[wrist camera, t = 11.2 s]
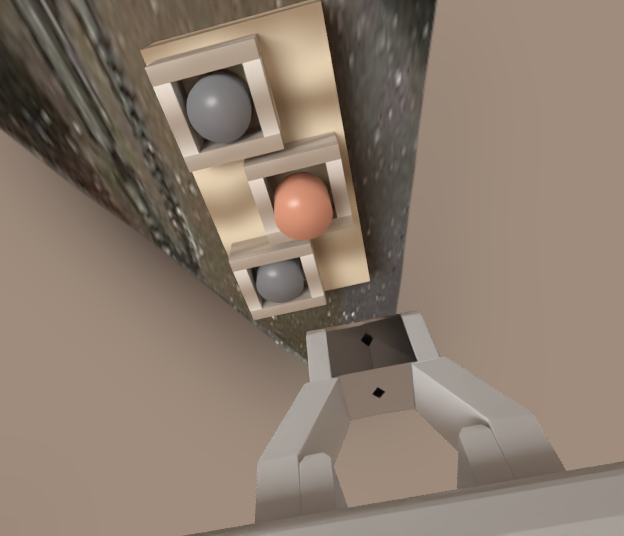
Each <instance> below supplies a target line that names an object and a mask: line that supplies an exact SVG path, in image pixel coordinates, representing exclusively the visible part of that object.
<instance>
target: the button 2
mask: <svg viewBox="0 0 624 536" xmlns="http://www.w3.org/2000/svg"><path fill="white" fill-rule="evenodd" d="M256 286H257V290H258V292H259V294H260V295H261V296H262V297H263V298H265V299H266V300H268V301H271V302H275V303H284V302H289V301H291V300H293V299H295V298H297V297H298V296H299V295H300V294H301V292H302V290H303V287H304V281H303V269H302V263H301V259H300V257H297V258H293V259H288V260H284V261H279V262H275V263H271V264H266V265H262V266H258V267H257V282H256Z"/></svg>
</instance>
